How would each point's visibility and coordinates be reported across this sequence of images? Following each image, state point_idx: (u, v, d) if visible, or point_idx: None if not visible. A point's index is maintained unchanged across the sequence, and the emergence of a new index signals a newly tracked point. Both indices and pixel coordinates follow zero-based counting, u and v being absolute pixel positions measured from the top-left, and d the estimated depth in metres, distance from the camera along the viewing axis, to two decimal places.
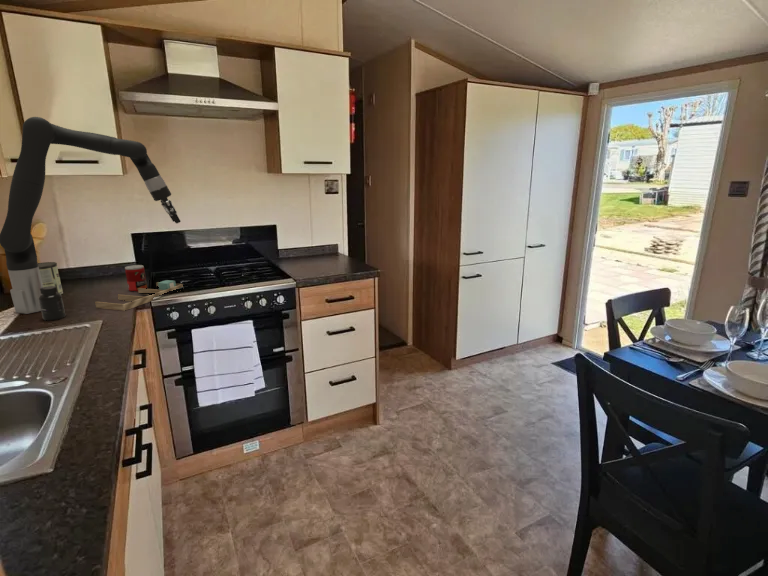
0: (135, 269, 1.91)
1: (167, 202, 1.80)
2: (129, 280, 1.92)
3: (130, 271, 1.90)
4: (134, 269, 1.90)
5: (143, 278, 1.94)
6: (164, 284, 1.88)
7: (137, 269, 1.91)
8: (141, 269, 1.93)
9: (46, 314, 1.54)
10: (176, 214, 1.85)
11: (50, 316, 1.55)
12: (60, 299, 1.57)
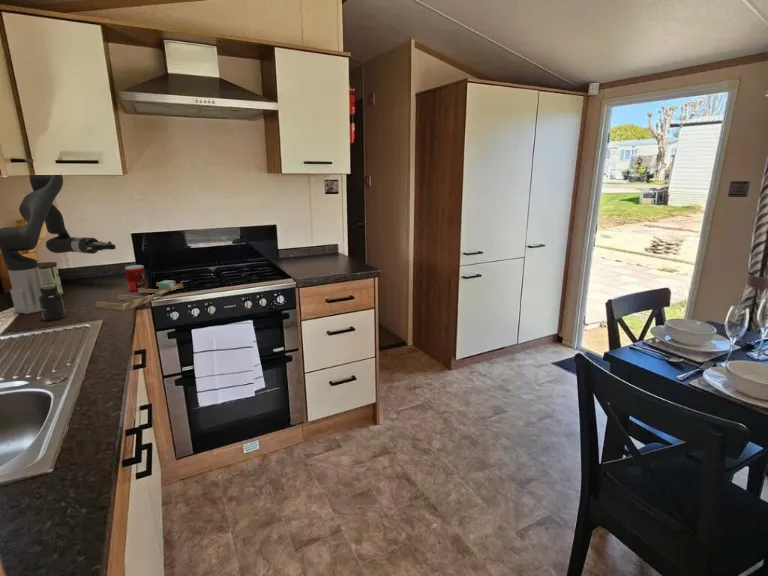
0: (135, 269, 1.91)
1: None
2: (129, 280, 1.92)
3: (130, 271, 1.90)
4: (134, 269, 1.90)
5: (143, 278, 1.94)
6: (164, 284, 1.88)
7: (137, 269, 1.91)
8: (141, 269, 1.93)
9: (46, 314, 1.54)
10: None
11: (50, 316, 1.55)
12: (60, 299, 1.57)
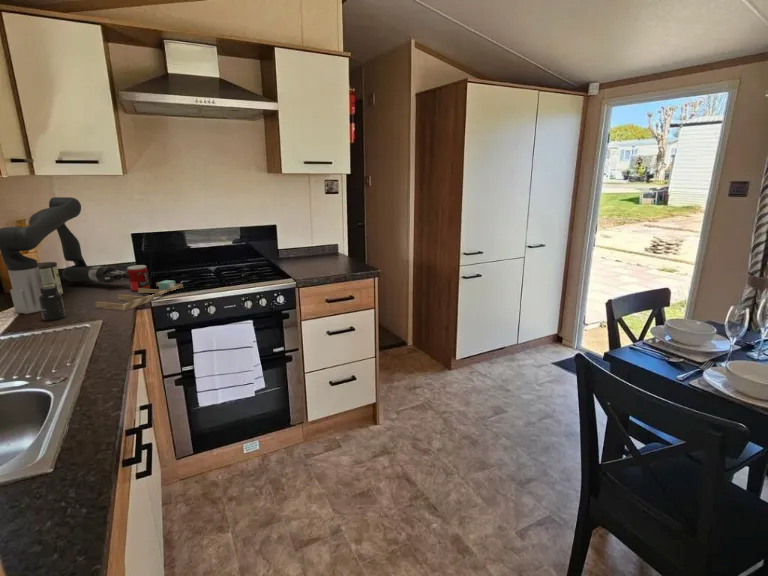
0: (138, 269, 1.90)
1: None
2: (132, 280, 1.91)
3: (132, 271, 1.90)
4: (137, 269, 1.90)
5: (146, 278, 1.94)
6: (164, 284, 1.88)
7: (140, 269, 1.91)
8: (144, 269, 1.92)
9: (46, 314, 1.54)
10: None
11: (50, 316, 1.55)
12: (60, 299, 1.57)
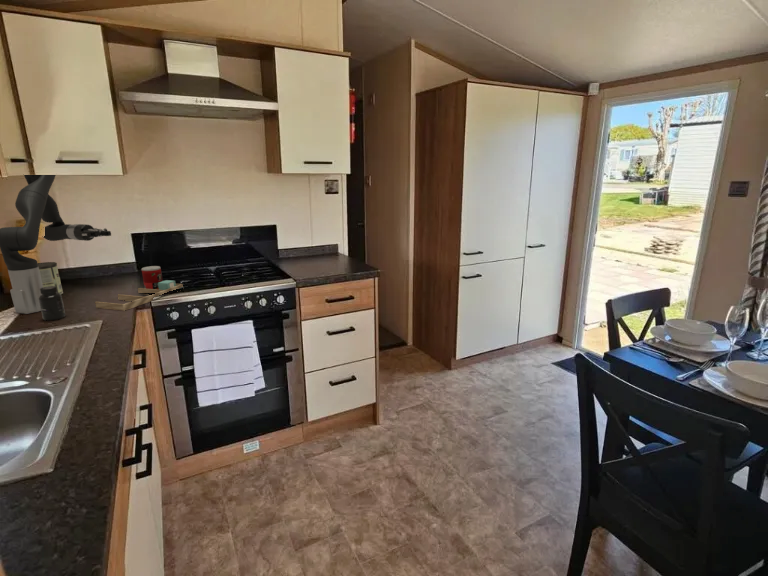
0: (152, 270, 1.88)
1: None
2: (146, 281, 1.89)
3: (147, 272, 1.88)
4: (151, 270, 1.88)
5: (160, 279, 1.92)
6: (164, 284, 1.88)
7: (154, 270, 1.89)
8: (158, 270, 1.90)
9: (46, 314, 1.54)
10: None
11: (50, 316, 1.55)
12: (60, 299, 1.57)
